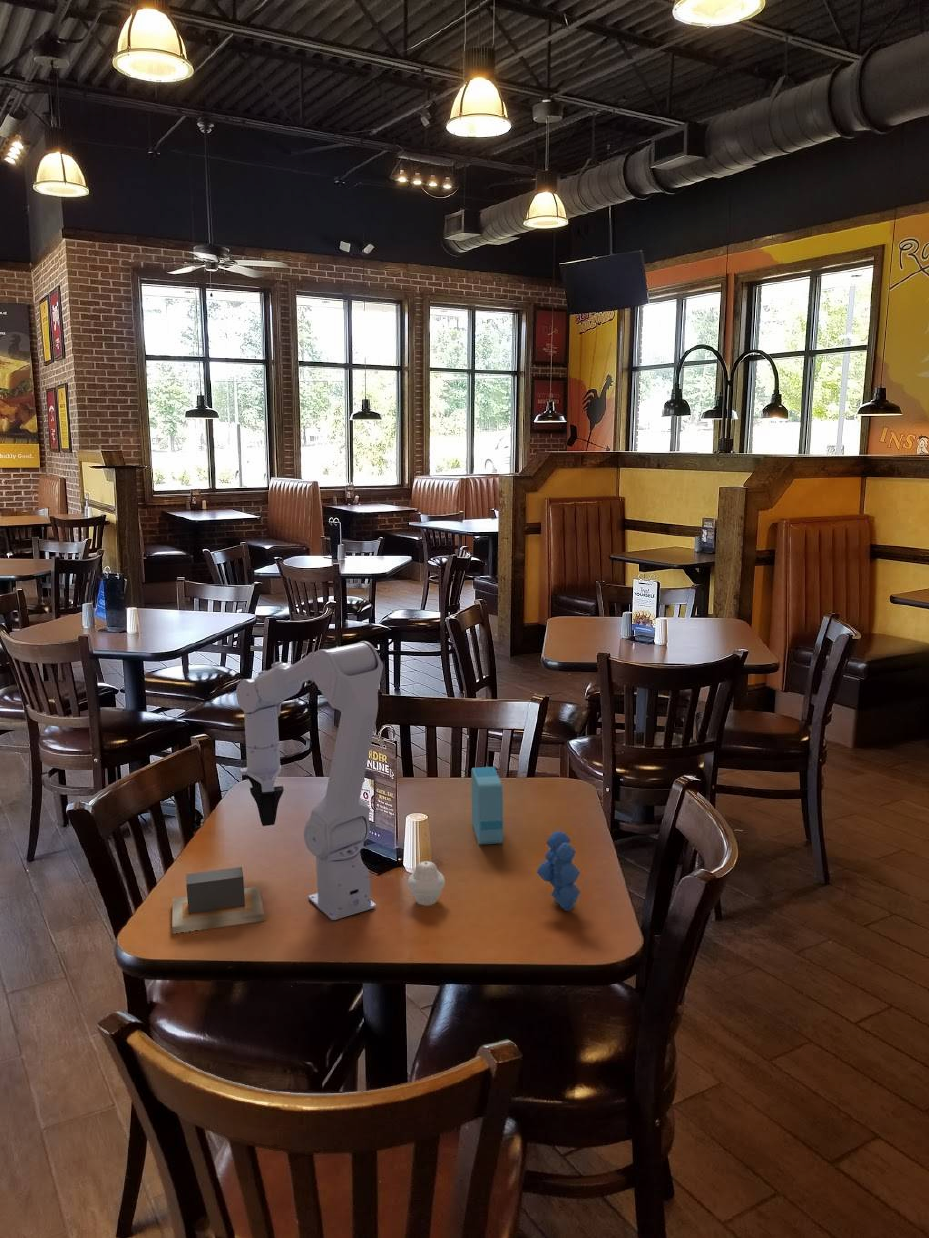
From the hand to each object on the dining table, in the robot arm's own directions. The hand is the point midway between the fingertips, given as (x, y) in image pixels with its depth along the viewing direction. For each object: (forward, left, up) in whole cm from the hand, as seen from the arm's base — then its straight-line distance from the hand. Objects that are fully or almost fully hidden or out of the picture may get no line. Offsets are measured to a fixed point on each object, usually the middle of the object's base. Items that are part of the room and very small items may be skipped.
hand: (266, 816), depth 169 cm
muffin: (-28, -17, -10) cm, 34 cm away
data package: (-11, -41, -10) cm, 43 cm away
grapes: (-41, -34, -10) cm, 54 cm away
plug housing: (-12, +14, -8) cm, 20 cm away
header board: (-12, +13, -9) cm, 20 cm away
